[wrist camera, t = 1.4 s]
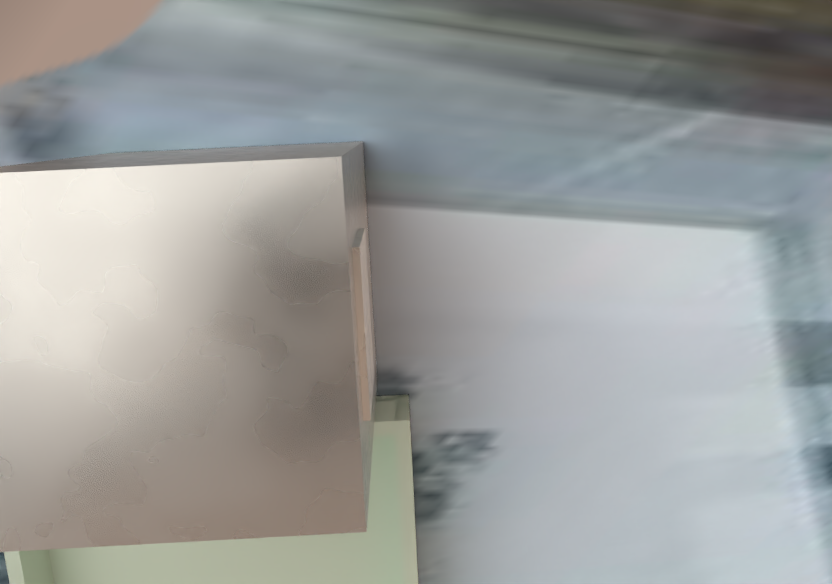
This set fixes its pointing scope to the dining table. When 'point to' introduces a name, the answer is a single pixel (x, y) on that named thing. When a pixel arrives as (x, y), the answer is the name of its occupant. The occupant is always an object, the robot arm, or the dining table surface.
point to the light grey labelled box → (185, 346)
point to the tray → (267, 539)
